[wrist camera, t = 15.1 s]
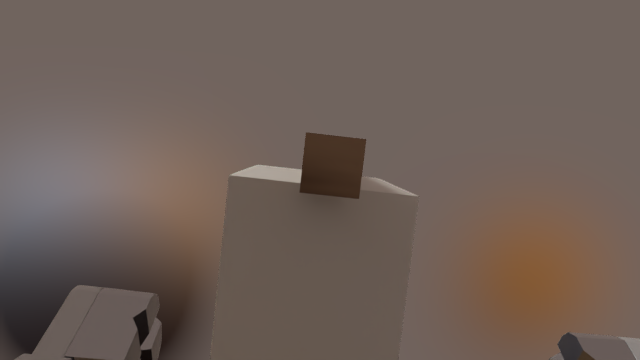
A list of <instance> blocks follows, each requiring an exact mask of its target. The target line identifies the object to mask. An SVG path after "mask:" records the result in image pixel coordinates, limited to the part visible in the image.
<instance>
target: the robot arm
mask: <svg viewBox="0 0 640 360" xmlns="http://www.w3.org/2000/svg"><path fill="white" fill-rule="evenodd" d="M158 309H159V300H158V295H156V294H154V293H146V292H137V291H129V290H121V289H112V288H100V287H92V286H83V285H78V286H77V287H75V288H74V289H73V290H72V291H71V292H70V294H69V295H68V297H67V298H66V300H65V302H64V303H63V305H62V306H61V308H60V310H59V311H58V313H57V315H56V316H55V318H54V319H53V321H52V323H51V324H50V326H49V328H48V329H47V331H46V333H45V334H44V335H43V337H42V339H41V340H40V342H39V344H38V345H37V347H36V348H35V350H34V352H33V353H32V354H23V355H21V356H20V357H18V358H16V359H15V360H157V359H158V355H159V350H160V346H161V337H162V327H161V322H160V321H159V320H158V319H157V318H156V315H157V312H158ZM558 347H559V349H560V351H561V352H560V353H558V354H557V355H555V356H553V357H551V358H550V359H549V360H640V339H638V338H627V337H615V336H607V335H594V334H582V333H570V332H568V333H566V334H565V335H563V336H562V337H561V339H560V341H559V342H558Z"/></svg>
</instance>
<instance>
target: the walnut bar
mask: <svg viewBox="0 0 640 360" xmlns="http://www.w3.org/2000/svg"><path fill="white" fill-rule="evenodd" d="M365 144H366V139H358V138H350V137H341V136H332V135H323V134H315V133H306V138H305V147H304V156H303V165H302V174H301V183H300V191H299V193H308V194H317V195H326V196H335V197H344V198H353V199H359V195H360V187H361V178H362V170H363V161H364V153H365Z"/></svg>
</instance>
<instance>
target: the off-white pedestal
mask: <svg viewBox="0 0 640 360" xmlns="http://www.w3.org/2000/svg"><path fill="white" fill-rule="evenodd" d="M301 174H302V170H301V169H292V168H283V167H274V166H265V165H255V166H253V167H250V168H247V169H244V170H242V171H239V172H236V173H233V174H231V175H229V179H228V190H227V199H226V208H225V219H224V229H223V238H222V248H221V257H220V267H219V277H218V286H217V296H216V306H215V316H214V325H213V335H212V345H211V355H210V360H398V359H399V350H400V342H401V335H402V327H403V319H404V311H405V304H406V296H407V287H408V280H409V272H410V264H411V257H412V249H413V240H414V233H415V225H416V217H417V208H418V202H419V196H417V195H415V194H413V193H410V192H408V191H406V190H404V189H401V188H399V187H397V186H395V185H392V184H390V183H388V182H386V181H384V180H381V179H379V178H372V177H363V176H362V178H361V187H360V195H359V199H353V198H344V197H335V196H326V195H317V194H308V193H299V191H300V183H301Z"/></svg>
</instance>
